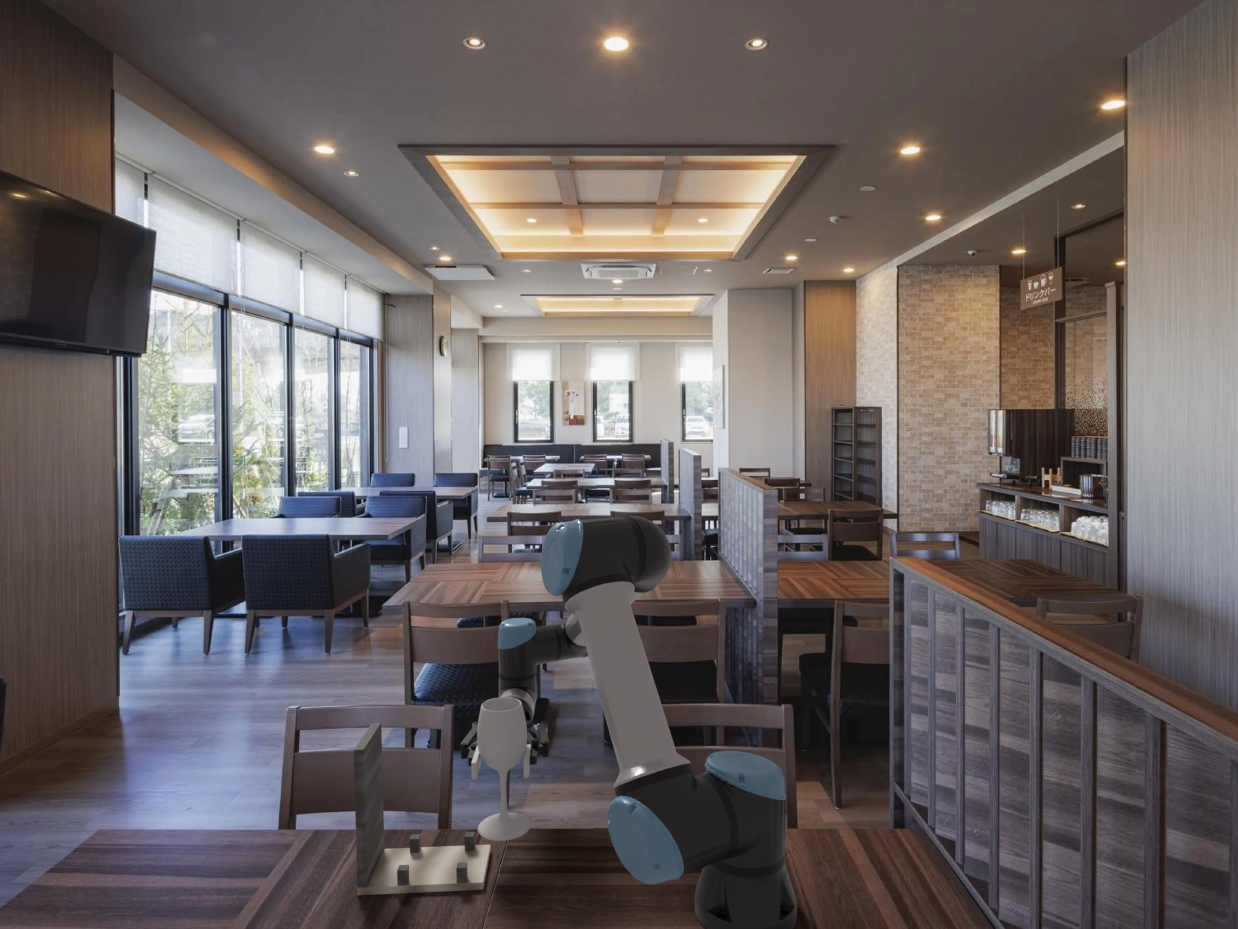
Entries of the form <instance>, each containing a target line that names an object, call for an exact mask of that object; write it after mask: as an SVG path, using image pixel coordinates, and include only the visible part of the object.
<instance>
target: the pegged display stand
mask: <svg viewBox="0 0 1238 929" xmlns="http://www.w3.org/2000/svg"><path fill="white" fill-rule="evenodd" d="M382 732H383V731H382V722H381V721H380V722H372V723H371V724H370V726H369V727H368V728H367V730H366V731H365V733H364V734H363V736H362V738H360V739H359V741H358V743H357V744H356V745H355V747H354V749H353V769H354V771H353V772H354V774H353V776H354V806H355V807H354V808H355V809H354V811H355V812H354V814H355V815H354V816H355V843H356V844H355V846H356V847H355V848H356V849H355V850H356V851H355V852H356V854H355V855H356V885H357V886H356V887H357V888H356V890H357V896H368V895H369V896H372V895H391V894H394V895H395V894H415V893H416V894H417V893H437V892H438V893H439V892H442V893H443V892H455V891H456V892H460V891H461V892H462V891H482V890H484V886H485V882H486V876H487V871H488V866H489V861H490V857H491V851H492V850H491V844H476V841H475V840H476V838H475V837H476V836H475V835H476V834H475V831H466V832H465V834H464V845H445V846H444V845H443V846H422V847H421V833H419V834H418V833H417V834H414V833H413V834H411V835H410V837H409V847H399V848H398V847H397V848H395V847H394V848H385V828H384V827H385V822H384V817H385V816H384V814H385V813H384V792H383V791H384V787H383V786H384V783H383V782H384V781H383V780H384V778H383V774H384V773H383V745H382V744H383V741H382V739H383V737H382Z"/></svg>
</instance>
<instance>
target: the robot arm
mask: <svg viewBox="0 0 1238 929" xmlns="http://www.w3.org/2000/svg"><path fill="white" fill-rule="evenodd" d="M671 563H672V547H671V545H670V541H669V538H668V537H667V535H666V534H665V532H664V531H663V529H662V528H661V527H660V526H659V525H657V524H656V523H655V522H654V521H652V520H650V519H647V518H646V517H641V516H638V515H637V516H636V515H627V516H626V515H624V516H620V517H619V516H618V517H617V516H616V517H604V518H592V519H591V518H590V519H579V518H576V519H574V520H570V521H562V522H557V523H555V524H554V525H553V526H551V528H550V529H549V530H548V532H547V534H546V535H545V538H544V541H543V546H542V551H541V557H540V571H541V578H542V582H543V586H544V588H545V590H546V591H547V593H549V595H552V596H555V597H561V598H562V603H563V605H564V608H565V611H567V612H568V613H570V615H569V616H568V618H567V619H566V620H565V621H563V622H560V623H552V624H547V625H539V626H537V625H536V622H535V620H533V619H531V618H527V617H514V618H513V617H512V618H508V619H505V620H503V621H502V622H501V623H499V627H498V633H497V636H498V637H497V653H498V654H497V655H498V697H497V698H499V697H511V698H516V699H518V700H520V701H521V703H522V706H523V710H524V714H525V719H526V726H527V746H526V750H525V753H524V755H523V761H522V762H523V779H529V776H530V770H531V765H533V766H534V765H537V764H538V761H539V760H538V759H539V757H540V756H542V757H543V758H548V757H550V741H549V736H548V733H549V732H548V727H549V726H548V721H547V720H542V721H541V722H540V723H537V724H534V722H533V720H534V714H535V708H536V703H537V700H538V695H539V693H538V692H539V691H538V690H539V689H538V688H539V687H538V684H537V666H538V665H542V664H550V663H554V662H559V661H566V660H573V659H578V658H579V659H580V658H587V657H588V660H589V663H590V667H591V670H592V671H591V672H592V674H593V679H594V681H595V684H596V689H597V692H598V696H599V699H600V703H601V706H602V710H603V713H604V718H605V720H606V726H607V728H608V731H609V736H610V739H611V742H612V747H613V750H614V754H615V757H616V761H617V763H618V767H619V774H618V777H617V778H616V780H615V782H614V785H613V789H614V792H615V793H614V794H615V797H614V799H613V800H612V801H611V802H610V804H609V806H608V809H607V815H606V816H607V818H608V821H607V828H608V833H609V834H608V835H609V837H610V841H611V843H612V846H613V848H614V852H615V853H616V855H617V856H618V859H619V861H620V862H621V864H622V865H623V867H624V868H625V870H627V871H628V872H629V873H630V874H631V876H632V877H633V878H635V879H636V880H637V881H639V882H641V883H644V884H646V885H657V884H659V883H660V884H661V883H663V882H666V881H673V880H678V879H680V878H681V877H682V876H685V875H687V874H690V873H692V872H695V871H697V870H700V869H701V872H700V875H699V879H698V881H697V885H696V887H695V892H694V913H695V916H696V918H697V920H698V922H700V924H701V925H702V926H703V927H704V928H705V929H794V928H795V926H796V924H797V920H798V905H797V904H798V902H797V897H796V894H795V891H794V889H793V885H792V881H791V878H790V876H789V872H788V869H787V866H786V861H785V860H786V851H785V850H786V799H787V794H786V790H785V789H786V787H785V776H784V772H783V771H782V769H781V768H780V767H779V766H778V765H777V764H776V763H775V762H773V761H772V760H770V759H767V757H766V758H765V756H761V755H758V754H754V753H751V752H746V751H741V750H720V751H715V752H713V753H711V754H709V755H708V756H707V758H706V760H705V763H704V769H705V772H703V773H699V774H697V775H695V772H694V769H693V767H692V762H691V761H690V760H688V759H687V758H685V757H684V756H682V755H681V754H679V753H678V752H677V751H676V750H677V749H676V746H675V743H674V740H673V736H672V734H671V730H670V728H669V724H668V721H667V717H666V715H665V712H664V708H663V705H662V702H661V698H660V695H659V693H658V689H657V686H656V683H655V680H654V676H653V673H652V670H651V667H650V663H649V660H648V657H647V654H646V651H645V648H644V647H645V646H644V645H643V644H644V643H643V641H642V638H641V635H640V631H639V628H638V625H637V622H636V619H635V615H634V612H633V609H632V604H634V602H635V601H636V600H637V599H638V598H639V596H641V595H642V594H647V593H649V592H651V591H653V590H655V588H656V587H657V586H658V585H659V584H661V582H662V581H663V579H664V578H666V576H667V573H668V572H669V569H670V567H671ZM477 729H478V721H475V722H472V723H471V729H470V730H469V732H467V734H466V736H465V737H464V738H463V740H462V741H461V743H460V759H462V760H466V759H467V766H468V767H470V770H471V772H470V773H471V780H477V778H478V774H479V771H480V768H481V765H482V761H483V760H482V758H481V756H480V754H479V750H478V742H477ZM533 733H534V734H535V735H536V738H534V737H533V735H532V734H533Z"/></svg>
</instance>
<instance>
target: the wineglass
mask: <svg viewBox="0 0 1238 929" xmlns="http://www.w3.org/2000/svg"><path fill="white" fill-rule="evenodd" d="M498 697H499V696H498ZM498 697H494V698H490V699H487V700H485V701H484V702H483V703H481V705H480V710H479V715H478V720H477V722H478V729H477V742H478V750H479V754H480V756H481V758H482V761H483V762H484V764H485V765H487V767H488V768H491V769H492V770H495V771H497V773H498V776H499V783H500V784H499V786H500V809H499V813H494V814H492V815H489V816H488V817H486V818H484V819H483V820H481V821H480V823H479V825H478V826H477V832H478V834H479V835H480V836H481V837H482V838H483V839H486V840H488V841H494V842H505V841H512V840H514V839H519V838H520V837H522V836H523V835H525V834H527V832H528V831H530V828H531V825H532V824H531V821H530V819H529V818H528V817H527V816H525V815H523V814H520V813H517V812H513V811H512V812H509V811H508V810H509V808H508V801H507V800H508V799H507V798H508V797H507V778H508V772H509V770H511V769H512V768H514V767H515V766H516V765H518V763H520V761H521V760H522V758H524V756H525V750H526V746H527V726H526V719H525V714H524V710H523V706H522V703H521V701H520V700H518V699H516V698H511V697H499V698H498Z"/></svg>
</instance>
